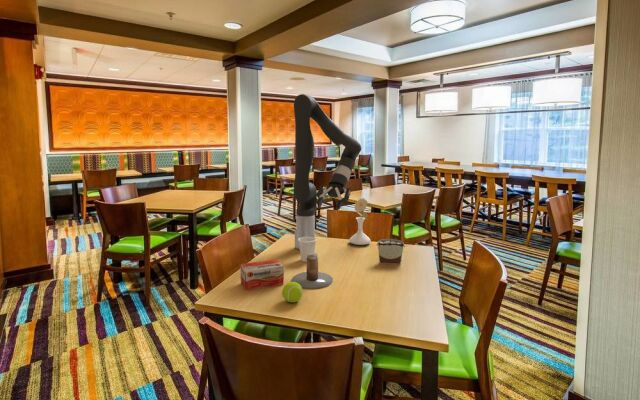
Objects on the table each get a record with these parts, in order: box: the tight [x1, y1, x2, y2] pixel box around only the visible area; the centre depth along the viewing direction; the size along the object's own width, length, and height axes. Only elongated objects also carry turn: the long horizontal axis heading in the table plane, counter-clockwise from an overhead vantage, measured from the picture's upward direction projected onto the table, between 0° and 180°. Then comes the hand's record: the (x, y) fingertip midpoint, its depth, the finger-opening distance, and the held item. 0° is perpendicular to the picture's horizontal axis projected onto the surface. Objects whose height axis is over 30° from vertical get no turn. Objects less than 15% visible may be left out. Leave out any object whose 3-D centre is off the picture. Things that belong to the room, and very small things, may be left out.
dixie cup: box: [298, 237, 317, 263], centre depth 177 cm, size 8×8×10 cm
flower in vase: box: [348, 197, 372, 246], centre depth 202 cm, size 13×11×25 cm
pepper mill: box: [306, 252, 319, 281], centre depth 152 cm, size 5×5×10 cm
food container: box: [376, 238, 405, 265], centre depth 176 cm, size 12×6×10 cm, turn 84°
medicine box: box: [239, 259, 285, 291], centre depth 149 cm, size 15×8×8 cm, turn 114°
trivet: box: [291, 271, 333, 290], centre depth 153 cm, size 16×16×1 cm
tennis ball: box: [281, 281, 304, 303], centre depth 134 cm, size 7×7×7 cm
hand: (327, 207), depth 164 cm, fingers open, 8 cm apart
